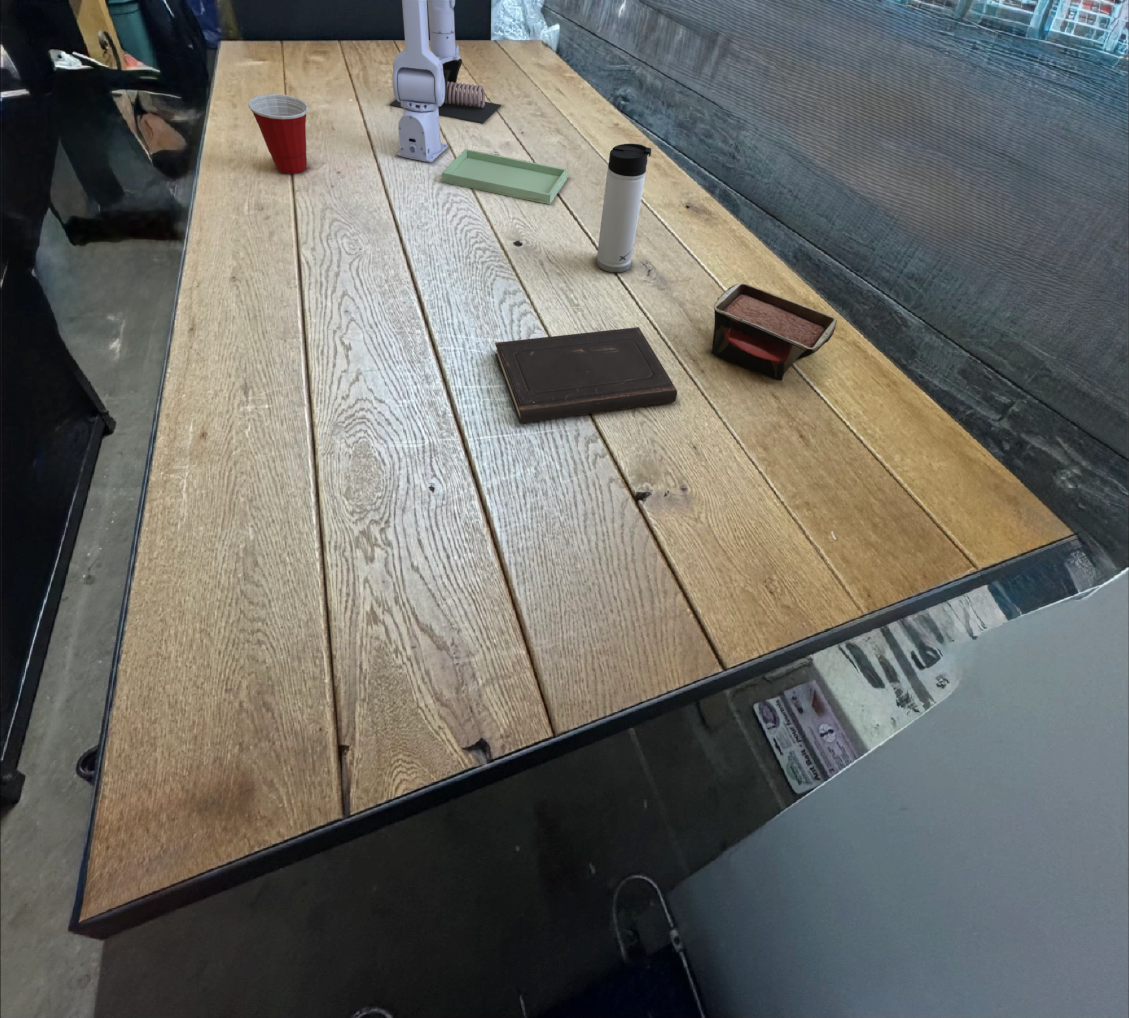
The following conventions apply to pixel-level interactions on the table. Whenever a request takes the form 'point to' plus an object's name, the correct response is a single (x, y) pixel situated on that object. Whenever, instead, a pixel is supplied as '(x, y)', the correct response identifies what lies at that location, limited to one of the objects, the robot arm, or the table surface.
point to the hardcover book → (582, 374)
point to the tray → (505, 176)
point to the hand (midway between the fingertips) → (445, 96)
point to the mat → (463, 111)
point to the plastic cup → (283, 129)
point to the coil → (465, 94)
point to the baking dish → (766, 330)
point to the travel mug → (621, 206)
